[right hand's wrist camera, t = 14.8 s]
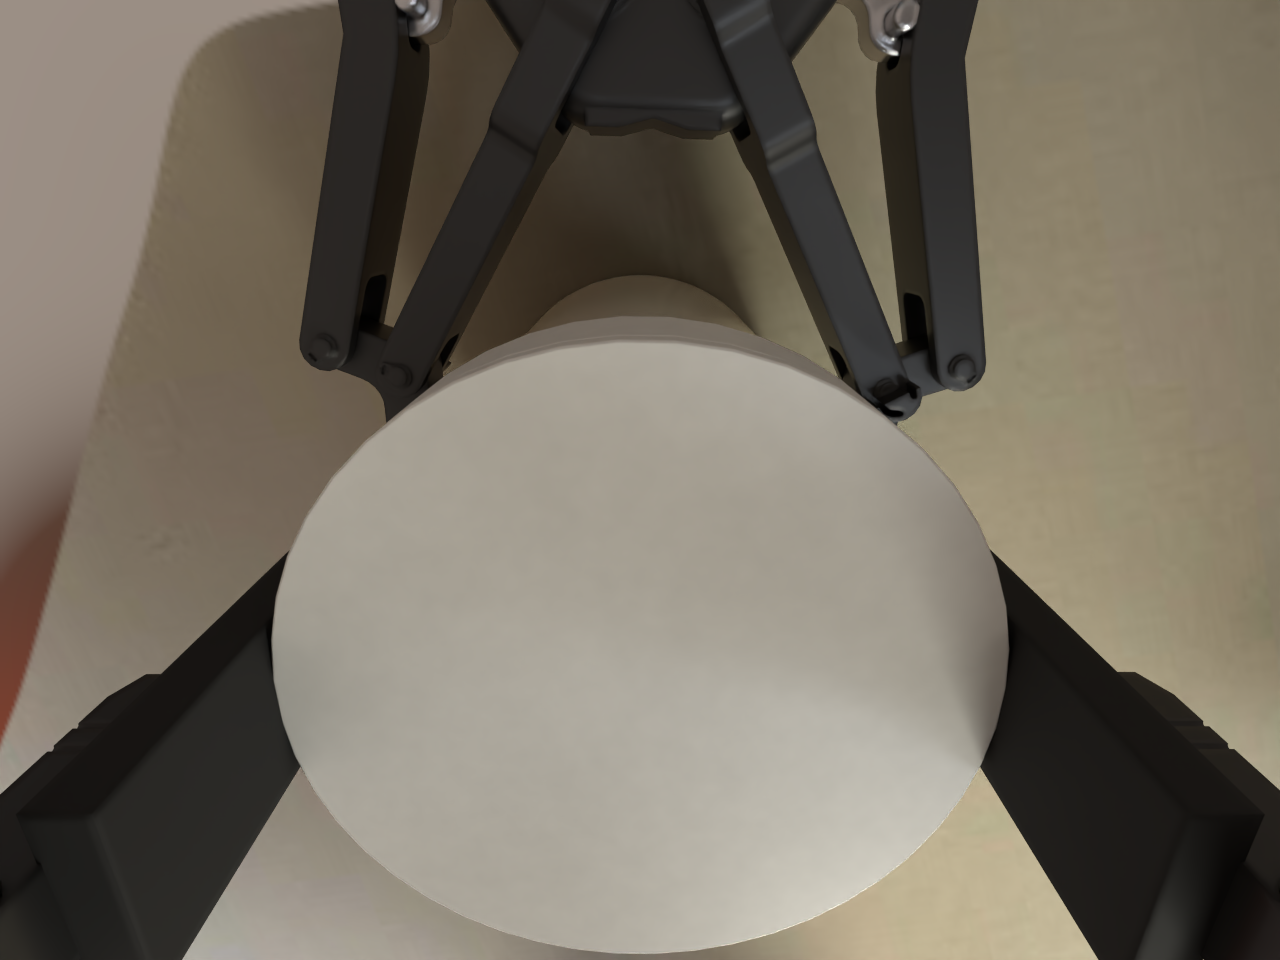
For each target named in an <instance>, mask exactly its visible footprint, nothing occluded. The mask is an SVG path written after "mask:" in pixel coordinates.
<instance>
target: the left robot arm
mask: <svg viewBox="0 0 1280 960" xmlns="http://www.w3.org/2000/svg"><path fill="white" fill-rule="evenodd" d="M486 2H487V3H488V5H489V6H490V8H491V10H492V11H493V13H494V14H495V16H496V17H497V19H498V20H499V22H500V24H501V25H502V27H503V28H504V30H505V31H506V33H507V35H508V36H509V38H510V39H511V41H512V42H513V44H514V46H515V47H516V49H517V50H518V52H519V55H518V57H517V59H516V61H515V63H514V65H513V67H512V70H511V72H510V74H509V76H508V78H507V80H506V82H505V84H504V86H503V88H502V90H501V93H500V95H499V97H498V99H497V101H496V103H495V106H494V108H493V110H492V113H491V116H490V121H489V128H488V131H487V134H486V136H485V138H484V141H483V143H482V145H481V147H480V149H479V151H478V153H477V155H476V157H475V159H474V161H473V163H472V166H471V168H470V170H469V172H468V174H467V176H466V178H465V180H464V182H463V184H462V186H461V188H460V190H459V193H458V195H457V197H456V199H455V201H454V203H453V205H452V207H451V209H450V211H449V213H448V215H447V218H446V220H445V222H444V224H443V226H442V228H441V230H440V232H439V234H438V236H437V238H436V240H435V243H434V245H433V247H432V249H431V251H430V253H429V255H428V257H427V259H426V261H425V263H424V265H423V268H422V270H421V272H420V274H419V276H418V278H417V280H416V282H415V284H414V286H413V288H412V290H411V293H410V295H409V297H408V299H407V301H406V303H405V305H404V307H403V309H402V311H401V313H400V315H399V317H398V320H397V322H396V324H395V326H394V328H393V327H390V326H388V325H385V324H384V320H385V315H386V310H387V304H388V299H389V293H390V288H391V283H392V277H393V272H394V267H395V261H396V256H397V250H398V245H399V240H400V234H401V229H402V224H403V218H404V213H405V208H406V202H407V197H408V191H409V186H410V181H411V175H412V170H413V165H414V159H415V154H416V148H417V143H418V138H419V132H420V127H421V122H422V116H423V111H424V105H425V100H426V94H427V87H428V79H429V55H430V53H429V45H430V44H435V43H438V42H439V41H441V40H443V39H444V37H445V36H446V35H447V34H448V32H449V29H450V27H451V21H452V13H453V7H454V5H455V3H456V0H338V3H339V9H340V15H341V21H342V27H343V33H344V34H343V41H342V48H341V55H340V62H339V69H338V76H337V83H336V90H335V96H334V103H333V110H332V117H331V124H330V131H329V138H328V145H327V152H326V159H325V166H324V173H323V180H322V187H321V193H320V200H319V207H318V214H317V221H316V228H315V235H314V242H313V249H312V256H311V263H310V270H309V277H308V284H307V291H306V297H305V304H304V311H303V318H302V325H301V332H300V339H299V342H300V350H301V353H302V355H303V357H304V359H305V360H306V361H307V362H308V363H309V364H310V365H311V366H313V367H315V368H317V369H319V370H325V371H331V370H335V369H338V370H341V371H343V372H346V373H349V374H351V375H354V376H356V377H359V378H362V379H364V380H366V381H368V382H369V383H371V384H372V385H373V386H374V387H375V388H376V389H377V390H378V391H379V393H380V394H381V396H382V398H383V401H384V405H385V413H386V423H387V422H388V421H390V420H391V419H392V418H393V417H394V416H396V415H397V414H398V413H399V412H400V411H402V410H403V409H404V408H405V407H406V406H408V405H409V404H410V403H411V402H413V401H414V400H415V399H416V398H418V397H419V396H420V395H421V394H423V393H424V392H425V391H426V390H428V389H429V388H430V387H431V386H433V385H434V384H435V383H436V382H438V381H439V380H440V379H441V378H443V371H444V370H445V369H447V368H448V366H449V365H450V364H451V362H449V359H450V357H451V355H452V353H453V351H454V349H455V347H456V346H457V344H458V342H459V340H460V338H461V336H462V334H463V332H464V330H465V328H466V326H467V324H468V322H469V320H470V318H471V317H472V315H473V313H474V311H475V309H476V307H477V305H478V303H479V301H480V299H481V297H482V295H483V293H484V291H485V289H486V288H487V286H488V284H489V282H490V280H491V278H492V276H493V274H494V272H495V270H496V268H497V266H498V264H499V262H500V260H501V259H502V257H503V255H504V253H505V251H506V249H507V247H508V245H509V243H510V241H511V239H512V237H513V235H514V233H515V231H516V230H517V228H518V226H519V224H520V222H521V220H522V218H523V216H524V214H525V212H526V210H527V208H528V206H529V204H530V202H531V201H532V199H533V197H534V195H535V193H536V191H537V189H538V187H539V185H540V183H541V181H542V179H543V177H544V175H545V173H546V172H547V170H548V168H549V167H550V165H551V164H552V163H553V162H554V160H555V159H556V157H557V155H558V154H559V152H560V150H561V148H562V146H563V144H564V142H565V140H566V139H567V137H568V135H569V133H570V131H571V129H572V127H573V125H575V126H577V127H579V128H581V129H584V130H587V131H588V132H589V133H590V135H600V136H623V135H627V134H631V133H635V132H639V131H643V130H647V129H656V130H659V131H662V132H665V133H668V134H671V135H674V136H677V137H680V138H683V139H709V140H713V139H714V138H715V137H716V136H717V135H720V134H724V133H726V132H728V131H730V133H731V135H732V138H733V140H734V142H735V145H736V147H737V149H738V152H739V154H740V156H741V158H742V160H743V162H744V164H745V166H746V168H747V169H748V171H749V172H750V173H751V175H752V177H753V179H754V181H755V184H756V186H757V188H758V191H759V193H760V195H761V198H762V200H763V202H764V205H765V207H766V209H767V212H768V214H769V216H770V219H771V221H772V223H773V226H774V228H775V230H776V233H777V235H778V237H779V240H780V242H781V244H782V247H783V249H784V251H785V254H786V256H787V258H788V261H789V263H790V265H791V268H792V270H793V272H794V275H795V277H796V279H797V282H798V284H799V286H800V289H801V291H802V293H803V296H804V298H805V300H806V303H807V305H808V307H809V310H810V312H811V314H812V317H813V319H814V321H815V324H816V326H817V328H818V331H819V333H820V335H821V338H822V340H823V342H824V344H825V347H826V349H827V351H828V354H829V356H830V358H831V361H832V363H833V365H834V368H835V370H836V372H837V375H838V377H839V379H841V380H842V381H843V382H845V383H846V384H847V385H848V386H849V387H851V388H852V389H853V390H854V391H855V392H857V393H858V394H859V395H860V396H861V397H863V398H864V399H865V400H866V401H867V402H869V403H870V404H871V405H872V406H874V407H875V408H876V409H877V410H878V411H880V412H881V413H882V414H883V415H884V416H886V417H887V418H888V419H889V420H890V421H891V422H893V423H894V424H895V425H896V426H897V423H898V422H899V421H902V420H906V419H907V418H909V417H910V416H912V415H913V414H914V413H915V412H916V410H917V409H918V408H919V406H920V403H921V399H922V396H925V395H929V394H932V393H935V392H938V391H942V390H945V389H950V390H953V391H964V390H967V389H969V388H972V387H973V386H974V385H975V384H977V383H978V382H979V381H980V380H981V378H982V376H983V374H984V372H985V366H986V355H985V341H984V327H983V313H982V299H981V284H980V270H979V256H978V242H977V228H976V213H975V199H974V185H973V171H972V156H971V142H970V128H969V114H968V100H967V85H966V71H965V54H966V50H967V46H968V42H969V37H970V33H971V29H972V25H973V20H974V16H975V12H976V8H977V4H978V0H486ZM835 3H839V4H842V5H844V6H846V7H847V8H848V9H850V10H851V12H852V13H853V15H854V16H855V19H856V22H857V25H858V42H859V46H860V49H861V51H862V52H863V53H864V55H865V56H866V57H867V58H869V59H870V60H872V61H876V62H878V66H877V75H876V106H877V118H878V127H879V136H880V145H881V154H882V163H883V171H884V180H885V189H886V198H887V207H888V216H889V225H890V234H891V243H892V251H893V260H894V269H895V278H896V287H897V296H898V305H899V314H900V323H901V331H902V340H903V341H902V342H899V343H896V344H895V342H894V339H893V337H892V334H891V332H890V329H889V327H888V324H887V321H886V319H885V316H884V314H883V311H882V309H881V306H880V304H879V301H878V298H877V296H876V293H875V291H874V288H873V286H872V283H871V281H870V278H869V276H868V273H867V270H866V268H865V265H864V263H863V260H862V258H861V255H860V253H859V250H858V247H857V245H856V242H855V240H854V237H853V235H852V232H851V230H850V227H849V225H848V222H847V219H846V217H845V214H844V212H843V209H842V207H841V204H840V202H839V199H838V196H837V194H836V191H835V189H834V186H833V184H832V181H831V179H830V176H829V174H828V171H827V168H826V166H825V163H824V161H823V158H822V156H821V153H820V151H819V148H818V145H817V139H816V127H815V123H814V120H813V117H812V114H811V111H810V109H809V106H808V104H807V101H806V99H805V96H804V93H803V91H802V88H801V86H800V83H799V81H798V78H797V75H796V73H795V70H794V68H793V65H792V63H791V62H792V61H793V59H794V58H795V57H796V55H797V54H798V53H799V51H800V50H801V49H802V47H803V46H804V45H805V43H806V42H807V41H808V39H809V38H810V37H811V35H812V34H813V33H814V31H815V30H816V29H817V27H818V26H819V25H820V23H821V22H822V20H823V19H824V18H825V16H826V15H827V14H828V12H829V11H830V10H831V8H832V7H833V6H834V4H835Z"/></svg>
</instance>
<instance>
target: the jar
mask: <svg viewBox="0 0 1280 960" xmlns="http://www.w3.org/2000/svg"><path fill="white" fill-rule="evenodd" d="M619 316H642V317H673V318H680V319H687V320H693V321H700V322H707V323H713V324H718V325H722V326H725V327H729V328H732V329H735V330H739V331H742V332H746V333H749V334H753V335H755V334H754V332H753V331H752V330H751V329H750V328H749V327H748V326H747V325H746V324H745V323H744V322H743V321H742V320H741V319H740V318H739V317H738V316H737V315H736V314H735V313H734V312H733V311H732V310H731V309H730V308H728V307H727V306H726V305H725V304H724V303H723V302H721V301H720V300H718V299H717V298H715V297H714V296H712V295H710V294H709V293H707V292H706V291H704V290H701V289H699V288H697V287H695V286H693V285H690V284H688V283H685V282H681V281H678V280H675V279H671V278H666V277H659V276H653V275H629V276H621V277H614V278H610V279H606V280H602V281H598V282H595V283H593V284H590V285H588V286H585V287H583V288H581V289H578V290H577V291H575V292H573V293H572V294H570V295H568V296H566V297H565V298H563V299H562V300H561V301H559V302H558V303H557V304H555V305H554V306H553V307H552V308H550V309H549V310H548V311H547V312H546V313H545V314H544V315H543V316H542V317H541V318H540V319H539V320H538V321H537V322H536V324H535V325H534V326H533V327H532V328H531V329H530V330H529V331H528V332H527V333H526V334H525V335H527V334H529V333H533V332H537V331H541V330H545V329H548V328H552V327H556V326H560V325H564V324H568V323H572V322H577V321H585V320H594V319H602V318H611V317H619Z"/></svg>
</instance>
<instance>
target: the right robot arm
mask: <svg viewBox="0 0 1280 960" xmlns="http://www.w3.org/2000/svg"><path fill="white" fill-rule="evenodd" d="M289 551H290V550H289ZM289 551H288V552H287V553H286V554H285V555H284V556H283V557H282V558H281V559H280V560H279V561H278V562H277V563H276V564H275V565H274V566H273V567H272V568H271V569H270V570H269V571H268V572H267V573H265V574H264V575H263V576H262V577H261V578H260V579H259V580H258V581H257V582H256V583H255V584H254V585H253V586H252V587H251V588H250V589H249V590H248V591H247V592H246V593H245V594H244V595H243V596H242V597H241V598H240V599H239V600H237V601H236V602H235V603H234V604H233V605H232V606H231V607H230V608H229V609H228V610H227V611H226V612H225V613H224V614H223V615H222V616H221V617H220V618H219V619H218V620H217V621H216V622H215V623H214V624H213V625H212V626H211V627H209V628H208V629H207V630H206V631H205V632H204V633H203V634H202V635H201V636H200V637H199V638H198V639H197V640H196V641H195V642H194V643H193V644H192V645H191V646H190V647H189V648H188V649H187V650H186V651H185V652H184V653H183V654H181V655H180V656H179V657H178V658H177V659H176V660H175V661H174V662H173V663H172V664H171V665H170V666H169V667H168V668H167V669H166V670H165V671H164V672H163V673H162V674H146V675H144V676H142V677H141V678H139V679H137V680H136V681H134V682H132V683H130V684H129V685H127V686H125V687H124V688H122V689H120V690H118V691H117V692H115V693H113V694H112V695H110V696H108V697H107V698H106V699H105V700H104V701H103V702H101V703H100V704H99V705H98V706H97V707H96V708H95V709H94V710H93V711H92V712H90V713H89V714H88V715H87V716H86V717H85V718H84V719H83V720H82V721H81V722H79V723H78V725H79V726H78V728H77V729H72V730H71V731H70V732H68V733H67V734H66V735H65V736H64V737H63V738H62V739H61V740H60V741H59V742H57V743H56V744H55V745H54V749H53V751H52V752H46V753H45V754H44V755H43V756H42V757H41V758H40V759H39V760H38V761H37V762H35V763H34V764H33V765H32V766H31V767H30V768H29V769H28V770H27V771H26V772H24V773H23V774H22V775H21V776H20V777H19V778H18V779H17V780H16V781H15V782H13V783H12V784H11V785H10V786H9V787H8V788H7V789H6V790H5V791H4V792H2V793H1V794H0V960H182V959H183V957H184V956H185V954H186V952H187V951H188V949H189V947H190V946H191V944H192V942H193V941H194V939H195V938H196V936H197V934H198V933H199V931H200V929H201V928H202V926H203V925H204V923H205V921H206V920H207V918H208V916H209V915H210V913H211V911H212V910H213V908H214V907H215V905H216V903H217V902H218V900H219V898H220V897H221V895H222V893H223V892H224V890H225V889H226V887H227V885H228V884H229V882H230V880H231V879H232V877H233V876H234V874H235V872H236V871H237V869H238V867H239V866H240V864H241V862H242V861H243V859H244V858H245V856H246V854H247V853H248V851H249V849H250V848H251V846H252V845H253V843H254V841H255V840H256V838H257V836H258V835H259V833H260V831H261V830H262V828H263V827H264V825H265V823H266V822H267V820H268V818H269V817H270V815H271V814H272V812H273V810H274V809H275V807H276V805H277V804H278V802H279V800H280V799H281V797H282V796H283V794H284V792H285V791H286V789H287V787H288V786H289V784H290V783H291V781H292V779H293V778H294V776H295V774H296V773H297V771H298V769H299V768H300V764H299V762H298V760H297V759H296V757H295V754H294V752H293V749H292V746H291V744H290V741H289V738H288V736H287V733H286V730H285V728H284V724H283V721H282V716H281V712H280V708H279V703H278V699H277V694H276V690H275V685H274V681H273V667H272V647H271V636H272V627H273V618H274V609H275V600H276V594H277V591H278V587H279V584H280V580H281V577H282V573H283V569H284V566H285V562H286V559H287V555H288V553H289ZM990 552H991V554H992V556H993V559H994V561H995V564H996V567H997V571H998V575H999V579H1000V583H1001V587H1002V592H1003V596H1004V600H1005V604H1006V612H1007V625H1008V639H1009V658H1008V669H1007V680H1006V688H1005V693H1004V697H1003V701H1002V705H1001V710H1000V714H999V718H998V723H997V727H996V730H995V732H994V735H993V737H992V739H991V742H990V744H989V747H988V749H987V752H986V754H985V756H984V759H983V761H982V764H981V766H980V767H981V769H982V770H983V772H984V774H985V775H986V777H987V779H988V780H989V782H990V783H991V785H992V787H993V788H994V790H995V792H996V793H997V795H998V797H999V798H1000V800H1001V801H1002V803H1003V805H1004V806H1005V808H1006V810H1007V811H1008V813H1009V814H1010V816H1011V818H1012V819H1013V821H1014V823H1015V824H1016V826H1017V828H1018V829H1019V831H1020V832H1021V834H1022V836H1023V837H1024V839H1025V841H1026V842H1027V844H1028V845H1029V847H1030V849H1031V850H1032V852H1033V854H1034V855H1035V857H1036V859H1037V860H1038V862H1039V863H1040V865H1041V867H1042V868H1043V870H1044V872H1045V873H1046V875H1047V876H1048V878H1049V880H1050V881H1051V883H1052V885H1053V886H1054V888H1055V890H1056V891H1057V893H1058V894H1059V896H1060V898H1061V899H1062V901H1063V903H1064V904H1065V906H1066V907H1067V909H1068V911H1069V912H1070V914H1071V916H1072V917H1073V919H1074V921H1075V922H1076V924H1077V925H1078V927H1079V929H1080V930H1081V932H1082V934H1083V935H1084V937H1085V938H1086V940H1087V942H1088V943H1089V945H1090V947H1091V948H1092V950H1093V952H1094V953H1095V955H1096V956H1097V958H1098V960H1203V959H1204V960H1280V790H1279V789H1278V788H1277V787H1275V786H1274V785H1273V784H1272V783H1271V782H1270V781H1269V780H1268V779H1267V778H1266V777H1264V776H1263V775H1262V774H1261V773H1260V772H1259V771H1258V770H1257V769H1256V768H1254V767H1253V766H1252V765H1251V764H1250V763H1249V762H1248V761H1247V760H1246V759H1245V758H1243V757H1242V756H1241V755H1240V754H1239V753H1238V752H1237V751H1236V750H1235V749H1229V748H1228V743H1227V742H1226V741H1225V740H1223V739H1222V738H1221V737H1220V736H1219V735H1218V734H1217V733H1216V732H1215V731H1214V730H1212V729H1211V728H1210V727H1209V726H1204V725H1203V721H1202V720H1201V719H1200V718H1199V717H1198V716H1197V715H1196V714H1195V713H1194V712H1193V711H1191V710H1190V709H1189V708H1188V707H1187V706H1186V705H1185V704H1184V703H1183V702H1181V701H1180V700H1179V699H1178V698H1177V697H1176V696H1175V695H1174V694H1172V693H1170V692H1168V691H1167V690H1165V689H1163V688H1162V687H1160V686H1158V685H1156V684H1155V683H1153V682H1151V681H1150V680H1148V679H1146V678H1144V677H1143V676H1141V675H1139V674H1137V673H1136V672H1117V671H1116V670H1115V669H1114V668H1112V667H1111V666H1110V665H1109V664H1108V663H1107V662H1106V661H1105V660H1104V659H1103V658H1102V657H1101V656H1100V655H1099V654H1098V653H1097V652H1096V651H1095V650H1094V649H1093V648H1092V647H1091V646H1090V645H1089V644H1088V643H1087V642H1086V641H1084V640H1083V639H1082V638H1081V637H1080V636H1079V635H1078V634H1077V633H1076V632H1075V631H1074V630H1073V629H1072V628H1071V627H1070V626H1069V625H1068V624H1067V623H1066V622H1065V621H1064V620H1063V619H1062V618H1061V617H1060V616H1059V615H1058V614H1056V613H1055V612H1054V611H1053V610H1052V609H1051V608H1050V607H1049V606H1048V605H1047V604H1046V603H1045V602H1044V601H1043V600H1042V599H1041V598H1040V597H1039V596H1038V595H1037V594H1036V593H1035V592H1034V591H1033V590H1032V589H1031V588H1030V587H1028V586H1027V585H1026V584H1025V583H1024V582H1023V581H1022V580H1021V579H1020V578H1019V577H1018V576H1017V575H1016V574H1015V573H1014V572H1013V571H1012V570H1011V569H1010V568H1009V567H1008V566H1007V565H1006V564H1005V563H1004V562H1003V561H1001V560H1000V559H999V558H998V557H997V556H996V555H995V554H994V553H993V552H992V551H991V550H990Z"/></svg>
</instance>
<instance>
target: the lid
mask: <svg viewBox="0 0 1280 960" xmlns="http://www.w3.org/2000/svg"><path fill="white" fill-rule="evenodd" d="M271 647H272V667H273V681H274V685H275V690H276V694H277V699H278V703H279V708H280V712H281V716H282V721H283V724H284V728H285V730H286V733H287V736H288V738H289V741H290V744H291V746H292V749H293V752H294V754H295V757H296V759H297V760H298V762H299V764H300V766H301V768H302V770H303V771H304V773H305V775H306V777H307V779H308V781H309V782H310V784H311V786H312V788H313V790H314V791H315V793H316V794H317V795H318V797H319V798H320V800H321V801H322V802H323V804H324V805H325V806H326V808H327V809H328V811H329V812H330V813H331V815H332V816H333V817H334V819H335V820H336V821H337V823H338V824H339V825H340V826H341V827H342V828H343V829H344V830H345V831H346V832H347V833H348V834H349V835H350V836H351V837H352V839H353V840H354V841H355V842H356V843H357V844H358V845H359V846H360V847H361V848H362V849H363V850H364V851H365V852H366V853H367V854H369V855H370V856H371V857H372V858H373V859H375V860H376V861H377V862H378V863H379V864H381V865H382V866H383V867H384V868H385V869H387V870H388V871H389V872H390V873H391V874H392V875H394V876H395V877H397V878H398V879H400V880H401V881H403V882H404V883H406V884H407V885H409V886H410V887H412V888H413V889H415V890H416V891H418V892H419V893H421V894H422V895H424V896H425V897H427V898H429V899H431V900H433V901H434V902H436V903H438V904H440V905H442V906H444V907H446V908H448V909H450V910H452V911H454V912H456V913H457V914H459V915H461V916H464V917H466V918H469V919H471V920H474V921H476V922H479V923H481V924H484V925H486V926H489V927H491V928H494V929H496V930H499V931H502V932H505V933H509V934H512V935H516V936H519V937H522V938H526V939H529V940H533V941H536V942H541V943H546V944H551V945H556V946H561V947H566V948H572V949H578V950H587V951H597V952H607V953H631V954H659V953H671V952H684V951H696V950H702V949H707V948H713V947H719V946H725V945H731V944H736V943H739V942H743V941H747V940H751V939H754V938H758V937H762V936H765V935H769V934H773V933H776V932H778V931H781V930H784V929H786V928H789V927H792V926H794V925H797V924H800V923H802V922H805V921H808V920H810V919H812V918H814V917H816V916H818V915H820V914H822V913H824V912H826V911H829V910H831V909H833V908H835V907H837V906H839V905H841V904H843V903H845V902H847V901H848V900H850V899H851V898H853V897H854V896H856V895H858V894H859V893H861V892H862V891H864V890H866V889H867V888H869V887H870V886H872V885H874V884H875V883H877V882H878V881H880V880H881V879H882V878H884V877H885V876H886V875H887V874H889V873H890V872H891V871H892V870H894V869H895V868H896V867H897V866H899V865H900V864H901V863H902V862H904V861H905V860H906V859H908V858H909V857H910V856H911V855H912V854H913V853H914V852H915V851H916V850H917V849H918V848H919V847H920V846H921V845H922V844H923V843H924V842H925V841H926V840H927V839H928V838H929V837H930V836H931V835H932V834H933V833H934V832H935V831H936V830H937V829H938V828H939V826H940V825H941V824H942V822H943V821H944V820H945V819H946V817H947V816H948V815H949V813H950V812H951V811H952V810H953V808H954V807H955V806H956V805H957V803H958V802H959V801H960V799H961V798H962V796H963V795H964V793H965V791H966V790H967V788H968V786H969V784H970V783H971V781H972V779H973V778H974V776H975V774H976V772H977V771H978V769H979V767H980V766H981V764H982V761H983V759H984V756H985V754H986V752H987V749H988V747H989V744H990V742H991V739H992V737H993V735H994V732H995V730H996V727H997V723H998V718H999V714H1000V710H1001V705H1002V701H1003V697H1004V693H1005V688H1006V680H1007V669H1008V658H1009V639H1008V625H1007V612H1006V604H1005V600H1004V596H1003V592H1002V587H1001V583H1000V579H999V575H998V571H997V567H996V564H995V561H994V559H993V556H992V554H991V552H990V549H989V547H988V544H987V542H986V540H985V537H984V535H983V533H982V530H981V528H980V525H979V523H978V522H977V520H976V519H975V517H974V515H973V514H972V512H971V511H970V509H969V507H968V506H967V504H966V503H965V501H964V499H963V498H962V496H961V495H960V493H959V491H958V490H957V488H956V487H955V485H954V484H953V483H952V481H951V480H950V479H949V478H948V477H947V476H946V474H945V473H944V472H943V471H942V470H941V469H940V468H939V466H938V465H937V464H936V463H935V462H934V461H933V459H932V458H931V457H930V456H929V455H928V454H927V453H926V451H925V450H924V449H923V448H922V447H921V446H920V445H918V444H917V443H916V442H915V441H914V440H913V439H911V438H910V437H909V436H908V435H907V434H906V433H904V432H903V431H902V430H901V429H900V428H898V427H897V426H896V425H895V424H894V423H893V422H891V421H890V420H889V419H888V418H887V417H886V416H884V415H883V414H882V413H881V412H880V411H878V410H877V409H876V408H875V407H874V406H872V405H871V404H870V403H869V402H867V401H866V400H865V399H864V398H863V397H861V396H860V395H859V394H858V393H857V392H855V391H854V390H853V389H852V388H851V387H849V386H848V385H847V384H846V383H845V382H843V381H842V380H841V379H839V378H838V377H836V376H835V375H833V374H831V373H830V372H828V371H827V370H825V369H823V368H822V367H820V366H819V365H817V364H815V363H814V362H812V361H811V360H809V359H807V358H806V357H804V356H803V355H800V354H798V353H796V352H794V351H791V350H789V349H787V348H785V347H782V346H780V345H778V344H776V343H773V342H771V341H769V340H767V339H765V338H762V337H759V336H756V335H753V334H749V333H746V332H742V331H739V330H735V329H732V328H729V327H725V326H722V325H718V324H713V323H707V322H700V321H693V320H687V319H680V318H673V317H642V316H619V317H611V318H602V319H594V320H585V321H577V322H572V323H568V324H564V325H560V326H556V327H552V328H548V329H545V330H541V331H537V332H533V333H529V334H527V335H524V336H522V337H519V338H517V339H514V340H512V341H510V342H507V343H505V344H502V345H500V346H497V347H495V348H492V349H490V350H488V351H485V352H484V353H482V354H480V355H479V356H477V357H475V358H473V359H472V360H470V361H468V362H467V363H465V364H463V365H461V366H460V367H458V368H456V369H455V370H453V371H451V372H449V373H448V374H446V375H445V376H444V377H443V378H441V379H440V380H439V381H438V382H436V383H435V384H434V385H433V386H431V387H430V388H429V389H428V390H426V391H425V392H424V393H423V394H421V395H420V396H419V397H418V398H416V399H415V400H414V401H413V402H411V403H410V404H409V405H408V406H406V407H405V408H404V409H403V410H402V411H400V412H399V413H398V414H397V415H396V416H394V417H393V418H392V419H391V420H390V421H388V422H387V423H386V424H385V425H383V426H382V427H381V428H380V429H379V430H377V431H376V432H375V433H374V434H373V435H371V436H370V437H369V438H368V439H367V440H366V441H365V442H364V443H363V444H362V445H361V446H360V447H359V448H358V449H357V450H356V451H355V452H354V453H353V454H352V456H351V457H350V458H349V459H348V460H347V461H346V462H345V463H344V464H343V465H342V466H341V467H340V468H339V469H338V471H337V472H336V473H335V474H334V475H333V476H332V477H331V479H330V480H329V482H328V483H327V485H326V486H325V488H324V489H323V491H322V492H321V494H320V495H319V497H318V498H317V500H316V501H315V503H314V504H313V506H312V507H311V509H310V510H309V511H308V513H307V514H306V516H305V519H304V521H303V523H302V525H301V527H300V529H299V532H298V534H297V536H296V538H295V540H294V542H293V544H292V547H291V549H290V551H289V553H288V555H287V559H286V562H285V566H284V569H283V573H282V577H281V580H280V584H279V587H278V591H277V594H276V600H275V609H274V618H273V627H272V636H271Z"/></svg>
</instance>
